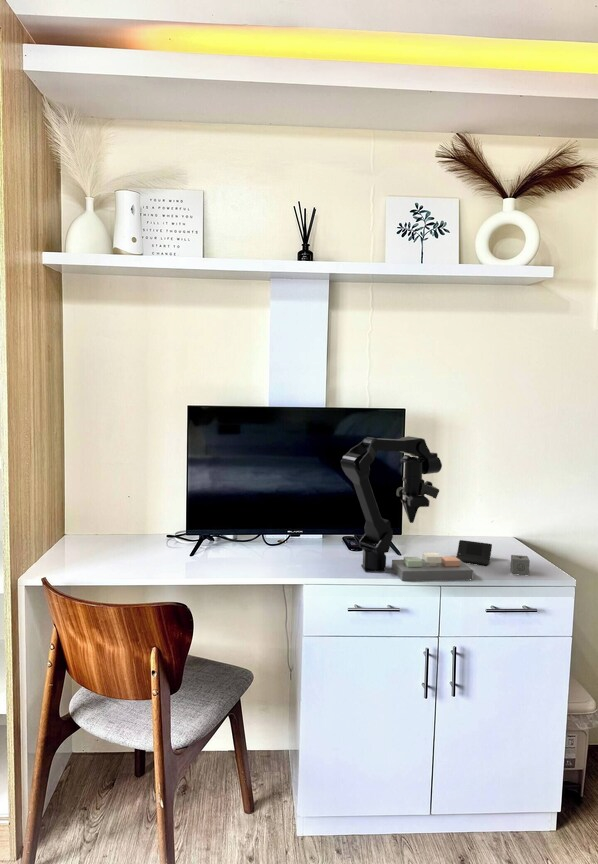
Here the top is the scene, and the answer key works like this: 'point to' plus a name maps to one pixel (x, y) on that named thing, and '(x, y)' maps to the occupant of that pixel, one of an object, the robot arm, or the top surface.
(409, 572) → the gray rectangular slab
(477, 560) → the handheld gaming console
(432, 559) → the cream cube
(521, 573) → the dice cube
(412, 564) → the pale green cube
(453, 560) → the peach cube
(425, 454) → the robot arm
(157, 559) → the top surface
